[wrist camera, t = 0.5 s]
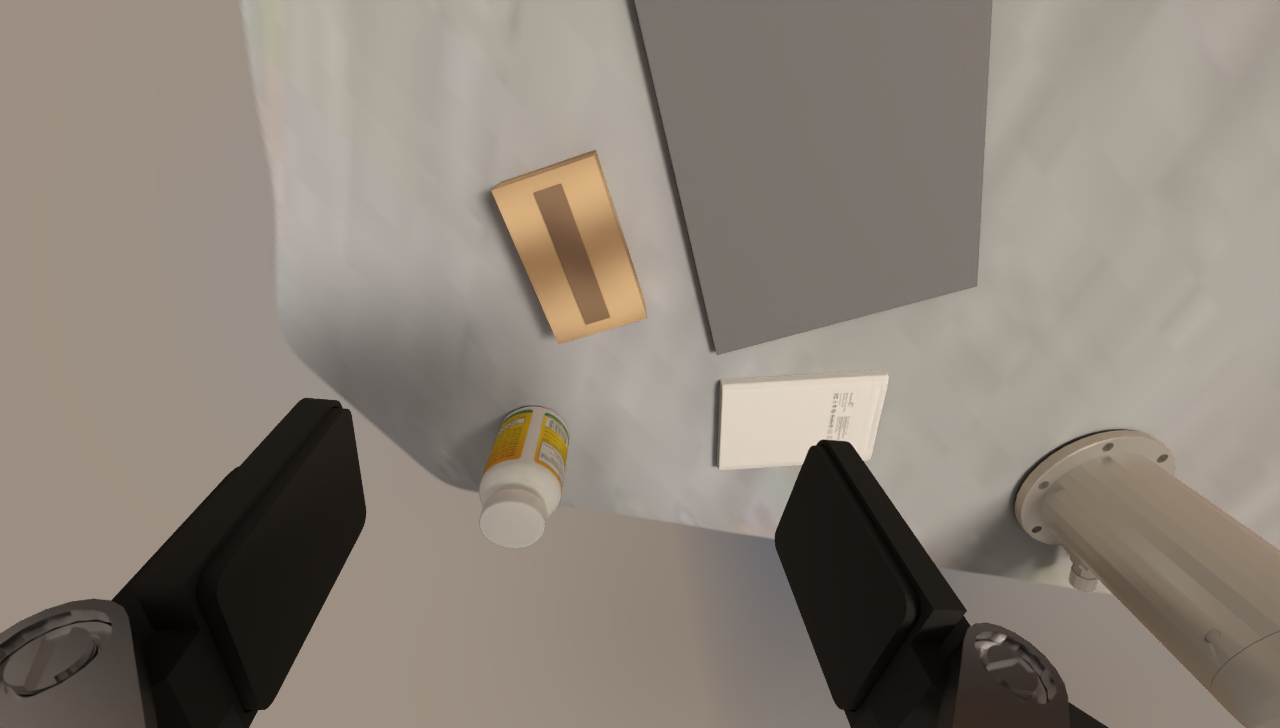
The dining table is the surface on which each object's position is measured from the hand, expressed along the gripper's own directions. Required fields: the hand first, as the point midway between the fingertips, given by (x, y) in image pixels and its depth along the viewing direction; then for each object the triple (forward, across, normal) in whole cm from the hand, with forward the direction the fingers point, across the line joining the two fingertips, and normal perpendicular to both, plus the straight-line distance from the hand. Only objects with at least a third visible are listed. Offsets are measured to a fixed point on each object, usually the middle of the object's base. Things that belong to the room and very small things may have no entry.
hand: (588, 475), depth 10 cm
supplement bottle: (+24, +3, +18) cm, 30 cm away
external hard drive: (+24, -18, +14) cm, 33 cm away
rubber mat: (+24, -13, -5) cm, 28 cm away
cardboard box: (+24, +1, +2) cm, 25 cm away
